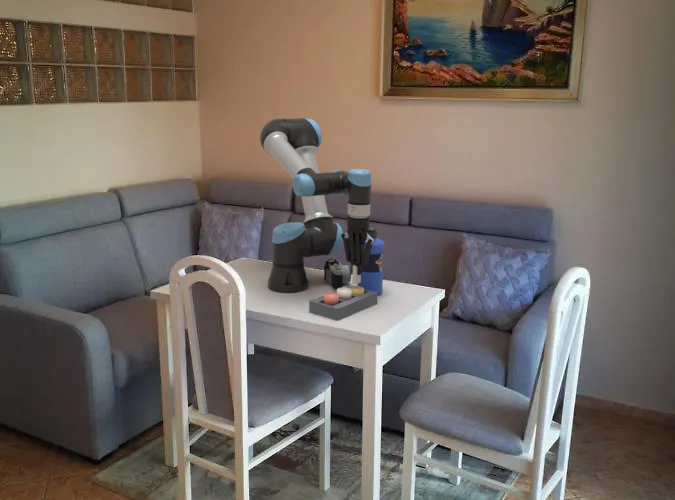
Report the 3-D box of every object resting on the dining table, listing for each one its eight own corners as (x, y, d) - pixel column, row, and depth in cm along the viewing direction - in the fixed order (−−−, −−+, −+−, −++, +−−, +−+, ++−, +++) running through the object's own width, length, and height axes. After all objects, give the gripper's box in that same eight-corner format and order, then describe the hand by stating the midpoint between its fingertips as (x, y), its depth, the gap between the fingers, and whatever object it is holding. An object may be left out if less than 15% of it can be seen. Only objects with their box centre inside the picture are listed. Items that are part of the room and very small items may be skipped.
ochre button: (346, 297, 231) (346, 288, 230) (355, 293, 235) (355, 285, 234) (357, 300, 228) (358, 291, 227) (366, 296, 232) (366, 288, 231)
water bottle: (353, 295, 240) (355, 227, 234) (360, 287, 249) (362, 221, 242) (379, 298, 237) (381, 229, 231) (385, 290, 246) (387, 224, 240)
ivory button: (333, 298, 225) (333, 289, 225) (342, 295, 229) (343, 286, 228) (345, 302, 222) (345, 292, 222) (354, 298, 226) (354, 289, 225)
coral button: (320, 304, 220) (320, 294, 219) (329, 300, 224) (330, 291, 223) (332, 307, 217) (332, 298, 216) (341, 303, 221) (341, 294, 220)
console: (309, 312, 222) (309, 300, 221) (349, 296, 239) (349, 285, 238) (337, 320, 215) (337, 308, 214) (377, 303, 231) (377, 292, 230)
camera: (355, 290, 246) (355, 264, 243) (331, 291, 244) (331, 265, 241) (343, 278, 260) (344, 253, 258) (321, 279, 258) (321, 254, 256)
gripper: (336, 214, 225) (334, 281, 232) (367, 220, 218) (365, 289, 224) (350, 211, 231) (348, 276, 237) (381, 217, 223) (378, 284, 229)
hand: (356, 282), depth 230 cm, fingers closed
